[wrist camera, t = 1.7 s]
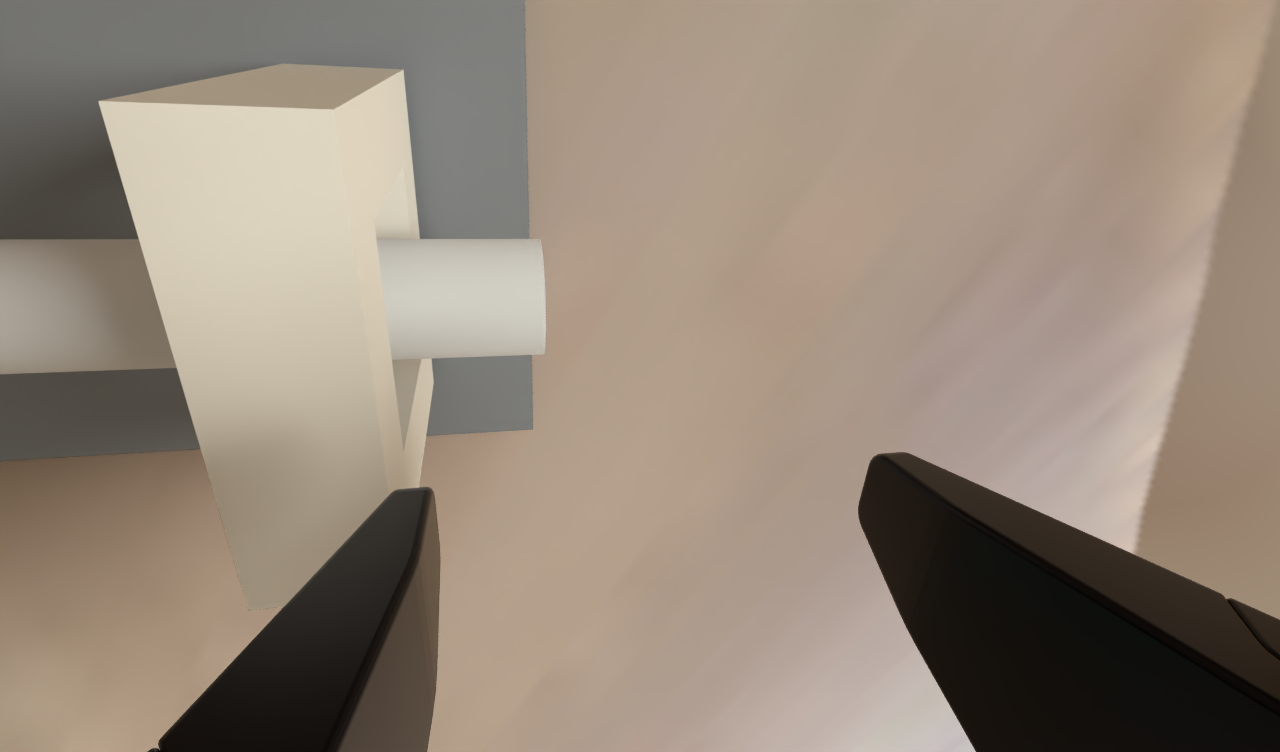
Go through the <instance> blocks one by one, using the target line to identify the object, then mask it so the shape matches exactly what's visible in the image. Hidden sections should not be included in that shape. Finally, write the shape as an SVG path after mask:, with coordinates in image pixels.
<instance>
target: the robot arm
mask: <svg viewBox="0 0 1280 752" xmlns="http://www.w3.org/2000/svg"><path fill="white" fill-rule="evenodd" d="M858 515H859V520H860V524H861V527H862V529H863V531H864V533H865V536H866V538H867V540H868V543H869V545H870V547H871V549H872V552H873V554H874V556H875V558H876V561H877V563H878V565H879V568H880V570H881V572H882V574H883V577H884V579H885V581H886V584H887V586H888V588H889V590H890V593H891V595H892V597H893V599H894V602H895V604H896V606H897V609H898V611H899V613H900V615H901V617H902V619H903V621H904V623H905V625H906V628H907V630H908V631H909V633H910V635H911V637H912V639H913V641H914V643H915V645H916V646H917V648H918V650H919V652H920V654H921V655H922V657H923V659H924V661H925V662H926V664H927V666H928V668H929V669H930V671H931V673H932V675H933V677H934V678H935V680H936V682H937V684H938V685H939V687H940V689H941V691H942V693H943V694H944V696H945V698H946V700H947V701H948V703H949V705H950V707H951V708H952V710H953V712H954V714H955V716H956V717H957V719H958V721H959V723H960V724H961V726H962V728H963V730H964V731H965V733H966V735H967V737H968V739H969V740H970V742H971V744H972V746H973V747H974V749H975V751H976V752H1280V620H1279V619H1277V618H1275V617H1272V616H1270V615H1268V614H1266V613H1263V612H1261V611H1259V610H1257V609H1255V608H1252V607H1250V606H1248V605H1246V604H1243V603H1241V602H1239V601H1237V600H1235V599H1231V598H1229V599H1226V598H1225V597H1224V596H1223V595H1222V594H1221V593H1218V592H1216V591H1214V590H1212V589H1210V588H1207V587H1205V586H1203V585H1201V584H1198V583H1196V582H1194V581H1192V580H1190V579H1187V578H1185V577H1183V576H1181V575H1179V574H1176V573H1174V572H1172V571H1170V570H1167V569H1165V568H1163V567H1161V566H1158V565H1156V564H1154V563H1152V562H1150V561H1147V560H1145V559H1143V558H1141V557H1138V556H1136V555H1134V554H1132V553H1130V552H1127V551H1125V550H1123V549H1121V548H1118V547H1116V546H1114V545H1112V544H1110V543H1107V542H1105V541H1103V540H1101V539H1098V538H1096V537H1094V536H1092V535H1090V534H1087V533H1085V532H1083V531H1081V530H1078V529H1076V528H1074V527H1072V526H1069V525H1067V524H1065V523H1063V522H1061V521H1058V520H1056V519H1054V518H1052V517H1049V516H1047V515H1045V514H1043V513H1041V512H1038V511H1036V510H1034V509H1032V508H1029V507H1027V506H1025V505H1023V504H1021V503H1018V502H1016V501H1014V500H1012V499H1009V498H1007V497H1005V496H1003V495H1001V494H998V493H996V492H994V491H992V490H989V489H987V488H985V487H983V486H980V485H978V484H976V483H974V482H972V481H969V480H967V479H965V478H963V477H960V476H958V475H956V474H954V473H952V472H949V471H947V470H945V469H943V468H940V467H938V466H936V465H934V464H932V463H929V462H927V461H925V460H923V459H920V458H918V457H916V456H914V455H911V454H909V453H905V452H897V453H884V454H878V455H876V456H874V457H873V458H872V460H871V461H870V464H869V467H868V471H867V474H866V478H865V482H864V486H863V490H862V493H861V497H860V501H859V506H858ZM439 592H440V542H439V533H438V523H437V514H436V504H435V496H434V492H433V490H432V489H431V488H429V487H419V488H405V489H397V490H394V491H393V492H391V493H390V494H389V495H388V496H387V498H386V499H385V500H384V501H383V502H382V503H381V504H380V505H379V506H378V507H377V508H376V509H375V510H374V511H373V512H372V514H371V515H370V516H369V517H368V518H367V519H366V520H365V521H364V522H363V523H362V524H361V525H360V526H359V527H358V528H357V530H356V531H355V532H354V533H353V534H352V535H351V536H350V537H349V538H348V539H347V540H346V541H345V542H344V543H343V544H342V546H341V547H340V548H339V549H338V550H337V551H336V552H335V553H334V554H333V555H332V556H331V557H330V558H329V559H328V560H327V562H326V563H325V564H324V565H323V566H322V567H321V568H320V569H319V570H318V571H317V572H316V573H315V574H314V575H313V576H312V578H311V579H310V580H309V581H308V582H307V583H306V584H305V585H304V586H303V587H302V588H301V589H300V590H299V591H298V592H297V594H296V595H295V596H294V597H293V598H292V599H291V600H290V601H289V602H288V603H287V604H286V605H285V606H284V607H283V608H282V610H281V611H280V612H279V613H278V614H277V615H276V616H275V617H274V618H273V619H272V620H271V621H270V622H269V623H268V624H267V625H266V627H265V628H264V629H263V630H262V631H261V632H260V633H259V634H258V635H257V636H256V637H255V638H254V639H253V640H252V641H251V643H250V644H249V645H248V646H247V647H246V648H245V649H244V650H243V651H242V652H241V653H240V654H239V655H238V656H237V657H236V659H235V660H234V661H233V662H232V663H231V664H230V665H229V666H228V667H227V668H226V669H225V670H224V671H223V672H222V673H221V675H220V676H219V677H218V678H217V679H216V680H215V681H214V682H213V683H212V684H211V685H210V686H209V687H208V688H207V689H206V691H205V692H204V693H203V694H202V695H201V696H200V697H199V698H198V699H197V700H196V701H195V702H194V703H193V704H192V705H191V707H190V708H189V709H188V710H187V711H186V712H185V713H184V714H183V715H182V716H181V717H180V718H179V719H178V720H177V721H176V723H175V724H174V725H173V726H172V727H171V728H170V729H169V730H168V731H167V732H166V733H165V734H164V735H163V736H162V737H161V739H160V740H159V743H158V745H159V749H160V750H159V749H157V748H153V749H151V750H149V751H148V752H427V749H428V742H429V736H430V729H431V723H432V716H433V709H434V701H435V693H436V680H437V658H438V625H439Z"/></svg>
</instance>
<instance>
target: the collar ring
mask: <svg viewBox="0 0 1280 752" xmlns="http://www.w3.org/2000/svg"><path fill="white" fill-rule="evenodd" d="M98 102H99V106H100V109H101V112H102V116H103V119H104V123H105V126H106V129H107V133H108V136H109V140H110V143H111V146H112V150H113V153H114V157H115V160H116V163H117V167H118V170H119V174H120V177H121V180H122V184H123V187H124V191H125V194H126V197H127V201H128V204H129V207H130V211H131V214H132V218H133V221H134V224H135V228H136V231H137V235H138V238H139V241H140V245H141V248H142V252H143V255H144V258H145V262H146V265H147V269H148V272H149V275H150V279H151V282H152V286H153V289H154V292H155V296H156V299H157V303H158V306H159V309H160V313H161V316H162V320H163V323H164V326H165V330H166V333H167V337H168V340H169V343H170V347H171V350H172V353H173V357H174V360H175V364H176V367H177V370H178V374H179V377H180V381H181V384H182V387H183V391H184V394H185V398H186V401H187V404H188V408H189V411H190V415H191V418H192V421H193V425H194V428H195V432H196V435H197V438H198V442H199V445H200V449H201V452H202V455H203V459H204V462H205V466H206V469H207V472H208V476H209V479H210V483H211V486H212V489H213V493H214V496H215V500H216V503H217V506H218V510H219V513H220V516H221V520H222V523H223V527H224V530H225V533H226V537H227V540H228V544H229V547H230V550H231V554H232V557H233V561H234V564H235V567H236V571H237V574H238V578H239V581H240V584H241V588H242V591H243V595H244V598H245V601H246V605H247V608H248V611H250V610H259V609H268V608H278V607H284V606H285V605H286V604H287V603H288V602H289V601H290V600H291V599H292V598H293V597H294V596H295V595H296V594H297V592H298V591H299V590H300V589H301V588H302V587H303V586H304V585H305V584H306V583H307V582H308V581H309V580H310V579H311V578H312V576H313V575H314V574H315V573H316V572H317V571H318V570H319V569H320V568H321V567H322V566H323V565H324V564H325V563H326V562H327V560H328V559H329V558H330V557H331V556H332V555H333V554H334V553H335V552H336V551H337V550H338V549H339V548H340V547H341V546H342V544H343V543H344V542H345V541H346V540H347V539H348V538H349V537H350V536H351V535H352V534H353V533H354V532H355V531H356V530H357V528H358V527H359V526H360V525H361V524H362V523H363V522H364V521H365V520H366V519H367V518H368V517H369V516H370V515H371V514H372V512H373V511H374V510H375V509H376V508H377V507H378V506H379V505H380V504H381V503H382V502H383V501H384V500H385V499H386V498H387V496H388V495H389V494H390V493H391V492H393V491H394V490H397V489H405V488H419V483H420V476H421V469H422V462H423V455H424V448H425V440H426V433H427V426H428V419H429V412H430V405H431V398H432V391H433V384H434V380H433V369H432V359H405V360H392V357H391V350H390V342H389V334H388V326H387V318H386V310H385V302H384V295H383V287H382V279H381V271H380V263H379V255H378V248H377V240H376V239H420V235H419V225H418V214H417V204H416V194H415V184H414V173H413V163H412V153H411V142H410V132H409V122H408V111H407V101H406V91H405V80H404V70H403V69H385V68H364V67H344V66H323V65H303V64H278V65H273V66H268V67H263V68H258V69H253V70H249V71H244V72H239V73H234V74H229V75H224V76H219V77H214V78H209V79H204V80H199V81H194V82H189V83H184V84H180V85H175V86H170V87H165V88H160V89H155V90H150V91H145V92H140V93H135V94H130V95H125V96H120V97H115V98H111V99H106V100H101V101H98Z"/></svg>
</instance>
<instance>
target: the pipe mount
mask: <svg viewBox="0 0 1280 752" xmlns="http://www.w3.org/2000/svg"><path fill="white" fill-rule="evenodd" d="M278 64H303V65H323V66H344V67H364V68H385V69H403V70H404V80H405V91H406V101H407V111H408V122H409V132H410V142H411V153H412V163H413V173H414V184H415V194H416V204H417V214H418V225H419V235H420V239H376V240H377V248H378V255H379V263H380V271H381V279H382V287H383V295H384V302H385V310H386V318H387V326H388V334H389V342H390V350H391V357H392V360H405V359H432V369H433V380H434V384H433V391H432V398H431V405H430V412H429V419H428V426H427V433H426V436H431V435H448V434H465V433H481V432H498V431H515V430H532V429H533V402H532V355H542V354H544V353H545V344H546V301H545V278H544V264H543V253H542V245H541V241H540V239H529V202H528V151H527V101H526V51H525V1H524V0H0V461H9V460H26V459H43V458H60V457H77V456H94V455H111V454H127V453H144V452H161V451H178V450H195V449H200V445H199V442H198V438H197V435H196V432H195V428H194V425H193V421H192V418H191V415H190V411H189V408H188V404H187V401H186V398H185V394H184V391H183V387H182V384H181V381H180V377H179V374H178V370H177V367H176V364H175V360H174V357H173V353H172V350H171V347H170V343H169V340H168V337H167V333H166V330H165V326H164V323H163V320H162V316H161V313H160V309H159V306H158V303H157V299H156V296H155V292H154V289H153V286H152V282H151V279H150V275H149V272H148V269H147V265H146V262H145V258H144V255H143V252H142V248H141V245H140V241H139V238H138V235H137V231H136V228H135V224H134V221H133V218H132V214H131V211H130V207H129V204H128V201H127V197H126V194H125V191H124V187H123V184H122V180H121V177H120V174H119V170H118V167H117V163H116V160H115V157H114V153H113V150H112V146H111V143H110V140H109V136H108V133H107V129H106V126H105V123H104V119H103V116H102V112H101V109H100V106H99V102H98V101H101V100H106V99H111V98H115V97H120V96H125V95H130V94H135V93H140V92H145V91H150V90H155V89H160V88H165V87H170V86H175V85H180V84H184V83H189V82H194V81H199V80H204V79H209V78H214V77H219V76H224V75H229V74H234V73H239V72H244V71H249V70H253V69H258V68H263V67H268V66H273V65H278Z"/></svg>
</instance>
